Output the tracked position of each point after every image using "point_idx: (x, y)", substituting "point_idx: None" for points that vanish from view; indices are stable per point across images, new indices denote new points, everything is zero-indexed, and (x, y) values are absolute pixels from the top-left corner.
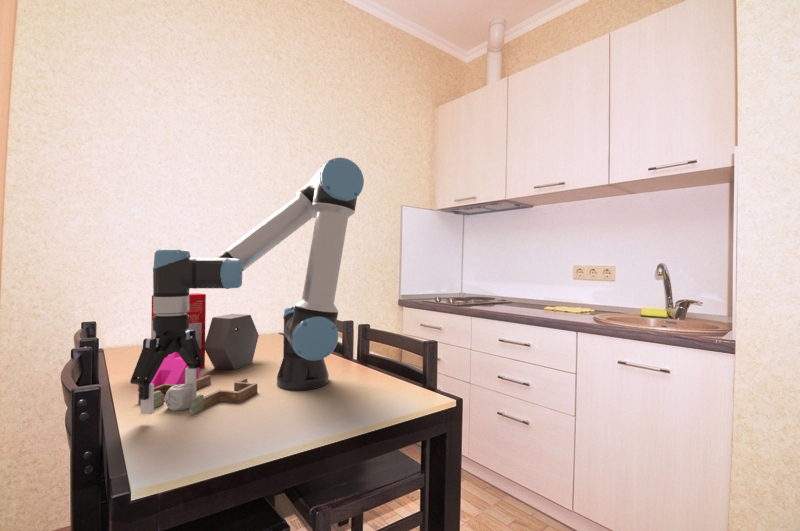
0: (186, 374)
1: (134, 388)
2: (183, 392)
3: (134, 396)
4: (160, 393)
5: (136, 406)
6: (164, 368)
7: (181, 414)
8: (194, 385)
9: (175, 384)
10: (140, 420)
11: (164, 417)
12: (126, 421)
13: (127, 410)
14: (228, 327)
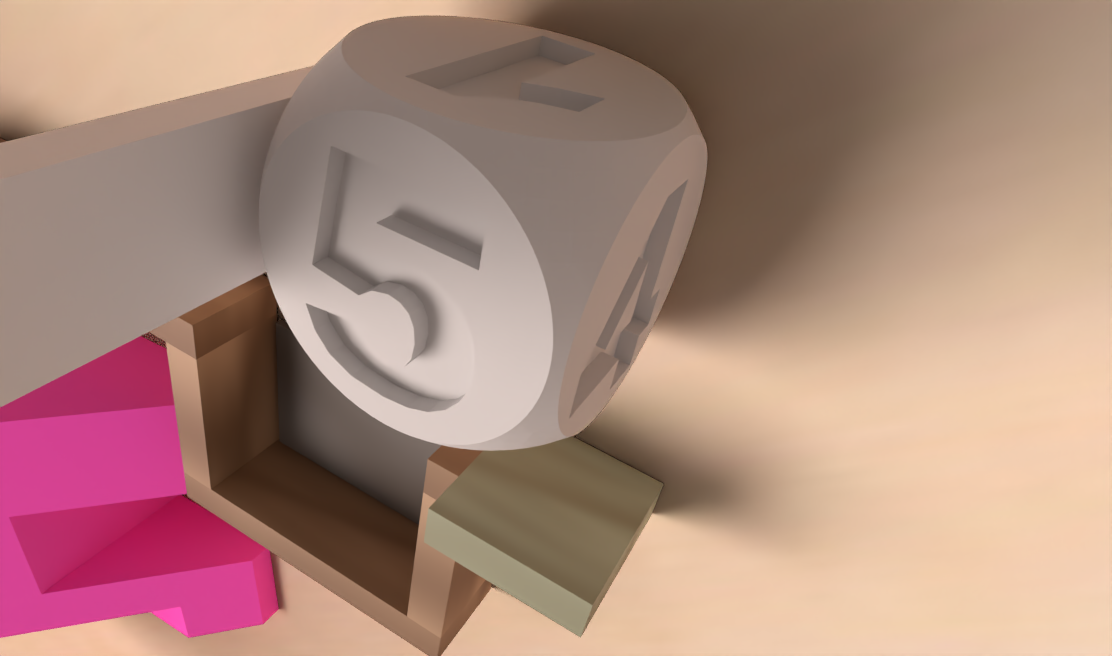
0: (93, 333)
1: (245, 627)
2: (570, 172)
3: (365, 620)
4: (458, 498)
5: None
6: (16, 574)
7: (892, 39)
8: (244, 107)
9: (155, 407)
10: (1048, 521)
11: (992, 258)
12: (1041, 645)
13: (667, 648)
14: None
